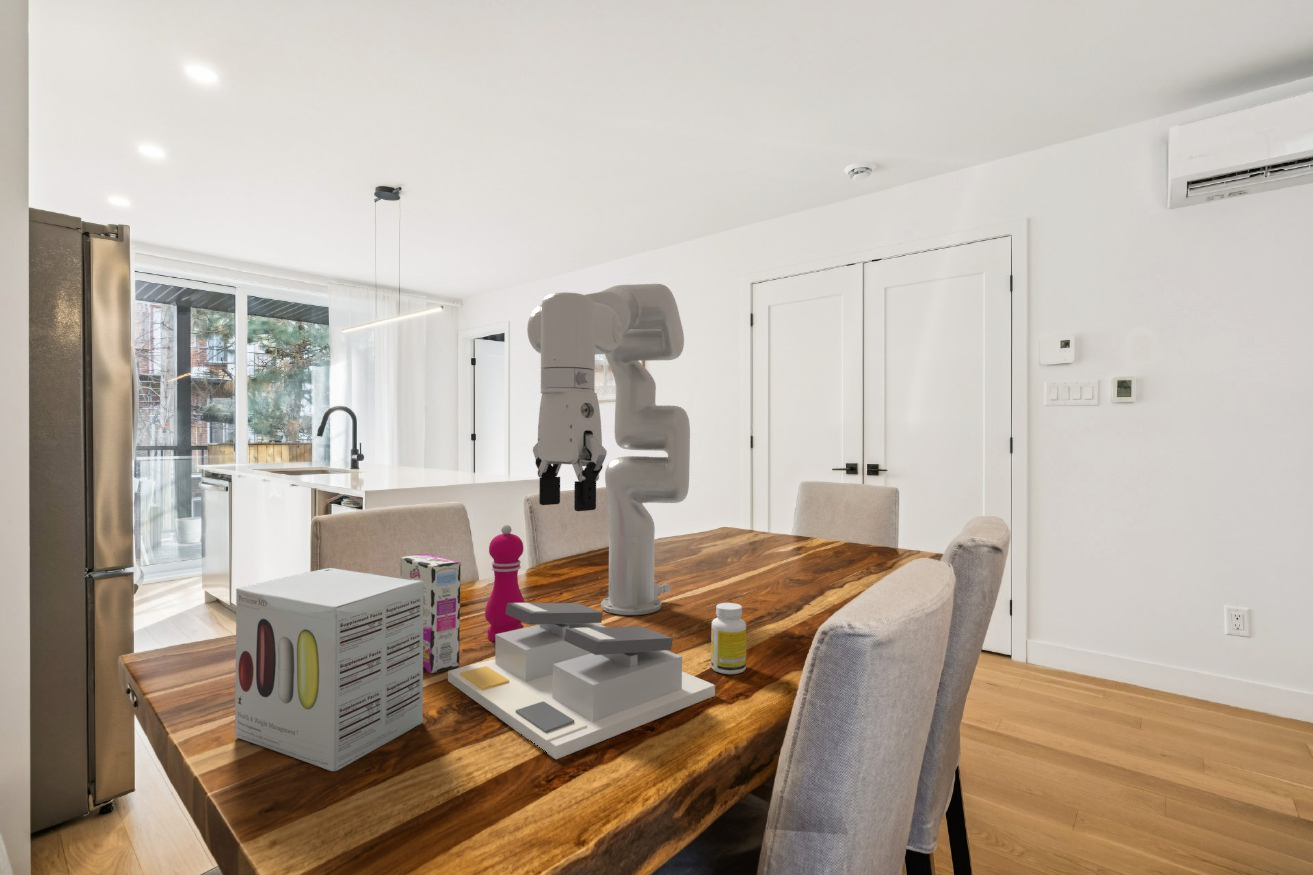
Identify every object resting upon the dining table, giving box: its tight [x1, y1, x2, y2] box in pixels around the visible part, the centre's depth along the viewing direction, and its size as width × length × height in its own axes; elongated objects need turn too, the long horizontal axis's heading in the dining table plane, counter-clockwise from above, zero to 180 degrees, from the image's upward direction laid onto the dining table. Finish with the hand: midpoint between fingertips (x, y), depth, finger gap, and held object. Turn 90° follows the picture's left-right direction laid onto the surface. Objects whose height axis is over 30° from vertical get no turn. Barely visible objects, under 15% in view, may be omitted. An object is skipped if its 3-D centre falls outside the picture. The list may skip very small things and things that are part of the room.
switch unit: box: [447, 623, 716, 760], centre depth 89 cm, size 26×29×8 cm
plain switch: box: [564, 625, 674, 655], centre depth 84 cm, size 13×7×2 cm, turn 132°
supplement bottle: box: [710, 602, 747, 675], centre depth 97 cm, size 5×5×10 cm
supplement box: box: [234, 567, 424, 772], centre depth 76 cm, size 17×13×18 cm
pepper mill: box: [484, 524, 526, 643], centre depth 111 cm, size 7×7×20 cm
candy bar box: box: [400, 553, 462, 675], centre depth 99 cm, size 11×5×16 cm, turn 47°
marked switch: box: [505, 602, 604, 626], centre depth 96 cm, size 13×7×2 cm, turn 132°
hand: (566, 506), depth 88 cm, fingers open, 8 cm apart
